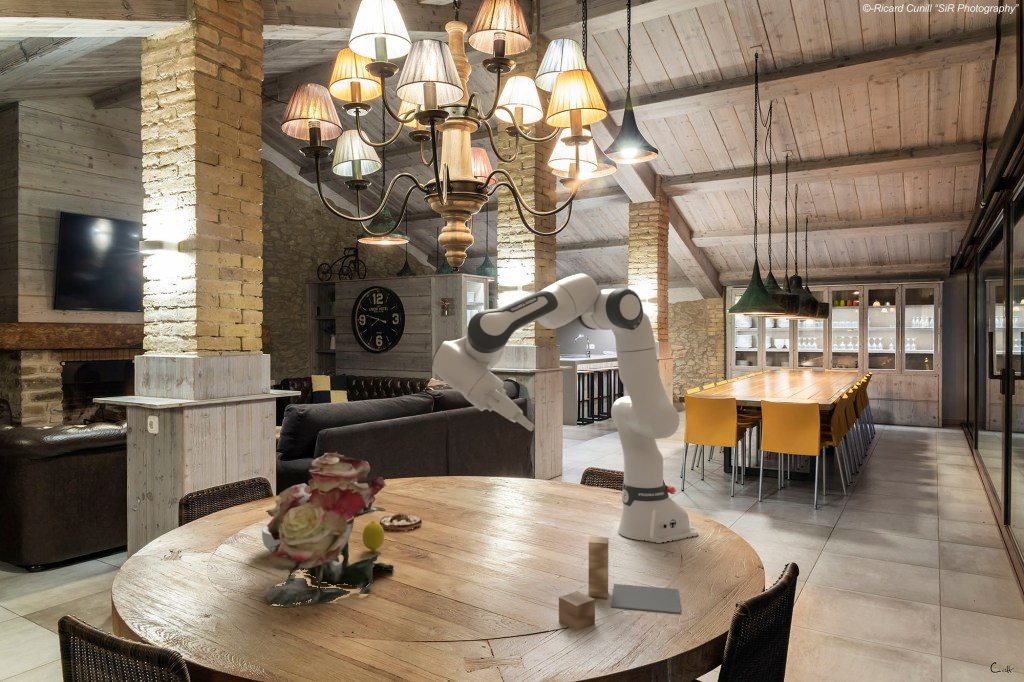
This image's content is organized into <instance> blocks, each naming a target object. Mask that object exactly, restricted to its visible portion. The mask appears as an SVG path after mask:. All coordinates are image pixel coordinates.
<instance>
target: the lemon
mask: <svg viewBox="0 0 1024 682" xmlns="http://www.w3.org/2000/svg"><path fill="white" fill-rule="evenodd" d="M384 539H385V531H384V529H383V527H382V526H381V525H380V522H377V521H375V520H372V521H370V522H369V523H367V524H366V525H365V527H364V528H363V531H362V542H363V545H364V547H366V549H368V550H370V551H371V552H373V551H374V552H375V551H376V550H377V549H379V548H381V546H382V545H383V544H384V541H385V540H384Z"/></svg>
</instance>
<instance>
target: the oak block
mask: <svg viewBox="0 0 1024 682" xmlns="http://www.w3.org/2000/svg"><path fill="white" fill-rule="evenodd" d="M588 540H589V541H588V594H587V596H589V597H591V598H594V599H600V600H608V597H609V537H603V536H591V535H590V536H589V539H588Z"/></svg>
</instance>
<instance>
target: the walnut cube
mask: <svg viewBox="0 0 1024 682" xmlns="http://www.w3.org/2000/svg"><path fill="white" fill-rule="evenodd" d="M558 623H560V624H561V625H563V626H565V627H567V628H569V629H571V630H573V631H574V632H579V631H581V630H584V629H586V628H588V627H592V626H593V625H595V624H596V598H591V597H589V596H588V594H585V593H583V592H581V591H578V590H577V591H573V592H569V593H568V594H564V595H562V596H558Z"/></svg>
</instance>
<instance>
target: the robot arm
mask: <svg viewBox="0 0 1024 682" xmlns="http://www.w3.org/2000/svg"><path fill="white" fill-rule="evenodd" d="M575 320H577V322H578V323H579V325H581V327H584V328H586V329H589V330H593V331H594V330H600V331H601V330H602V331H603V330H604V331H606V330H607V331H608V330H611V332H612V333H613V334H614V337H615V338H614V339H615V349H616V350H615V352H616V359H617V361H616V362H617V367H618V376H619V379H620V382H621V383H622V384H623V385H624V387H625V389H626V391H627V393H628V395H625V396H622V397H619V398H618V399H616V400H615V401H614V403H613V404H612V406H611V409H610V415H611V420H612V421H613V423H614V425H615V427H616V429H617V432H618V436H619V440H620V445H621V448H622V449H621V450H622V454H623V456H622V458H623V482H622V487H621V488H622V489H621V491H622V493H621V497H622V509H621V510H622V511H621V517H620V523H619V527H618V530H617V532H618V534H619V535H621V536H623V537H624V538H628V539H631V540H632V539H633V540H638V541H644V540H645V542H652V543H655V542H656V543H657V544H663V543H662V542H664V543H668V542H667V541H669V542H673V541H678V540H682V539H683V540H684V539H687V537H688V538H692V536H693V537H696V536H699V533H698V532H699V531H698V530H697V528H695V527H694V526H692V525H691V524H690V519H689V515H688V513H687V511H686V509H684V508H683V507H682V506H681V505H680V504H678V503H677V502H676V501H675V500H673V499H672V498H671V497H670V495H669V494H671V495H674V494H676V492H677V490H676V487H674V486H672V485H667V484H665V483H664V457H663V454H662V453H661V451H660V449H659V448H658V445H657V442H656V440H657V439H659V440H660V439H667V438H670V437H672V436H673V435H674V434H675V433H677V430H678V429H679V426H680V421H681V420H680V419H681V418H680V415H679V412H678V410H677V408H676V407H675V406H674V405H673V404H672V402H671V400H670V399H669V397H668V395H667V393H666V392H667V391H666V390H665V387H664V385H663V383H662V379H661V375H660V372H659V364H658V356H657V350H656V349H657V348H656V341H655V336H654V331H653V327H652V324H651V320H650V317H649V316H648V315H647V313H645V312H644V309H643V303H642V300H641V298H640V297H639V295H638V294H637V293H636V292H635V291H634V290H633V289H629V288H624V287H617V288H606V289H601V290H600V289H599V288H598V285H597V282H596V281H595V280H594V279H593V278H592V277H591V276H590V275H588V274H586V273H577V274H574V275H570V276H566V277H565V278H563V279H560V280H557V281H555V282H554V283H552V284H550V285H548V286H547V287H545V288H543V289H542V290H540V291H538V292H534V293H532V294H530V295H527V296H525V297H523V298H521V299H519V300H516V301H514V302H512V303H509V304H508V305H505V306H503V307H499V308H492V309H491V308H490V309H485V310H481V311H479V312H476V313H475V314H474V315H473V316H472V317H471V318H470V320H469V322H468V325H467V333H466V334H467V335H465V336H464V337H462V338H459V339H455V340H449V341H448V340H445V341H443V342H442V343H440V345H439V346H438V347H437V348H436V351H434V355H433V357H432V361H431V368H432V371H433V372H434V373H435V374H436V375H437V376H438V378H440V379H441V380H442V381H443V382H444V383H445V384H447V385H448V386H449V387H450V388H451V389H453V390H455V391H457V392H459V393H460V394H461V395H462V396H463V397H464V399H465V400H466V401H468V402H469V403H470V404H471V405H473V406H474V407H475V408H476V409H478V410H479V411H481V412H483V411H484V410H488V412H492V411H494V412H496V413H497V414H499V415H501V416H502V417H504V418H505V419H507V420H509V421H510V422H513V423H516V422H517V423H518V424H519V425H521V426H523V427H524V428H525V429H526V430H528V431H530V432H532V431H534V429H535V428H536V427H535V424H534V423H533V422H532V421H530V420H529V419H528V418H527V416H525V415H524V412H523V409H521V408H520V407H519V406H518V404H516V403H515V402H514V401H513V400H512V399H511V398H510V397H509V396H508V395H507V390H506V389H504V385H505V382H504V381H503V380H501V379H500V378H499V377H498V376H497V375H495V374H494V373H493V372H491V371H490V370H491V369H492V368H494V367H495V366H496V365H497V364H498V363H499V361H500V359H501V357H502V355H503V353H504V349H505V347H506V345H507V344H508V341H509V340H510V338H511V336H512V335H513V334H514V333H515V332H516V331H518V330H520V329H523V327H526V326H528V325H530V324H532V323H534V322H535V321H536V322H538V324H540V325H541V326H542V327H544V328H546V329H548V330H549V329H550V330H554V329H557V328H561V327H563V326H565V325H567V324H569V323H571V322H572V321H575ZM672 540H673V541H672Z"/></svg>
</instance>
